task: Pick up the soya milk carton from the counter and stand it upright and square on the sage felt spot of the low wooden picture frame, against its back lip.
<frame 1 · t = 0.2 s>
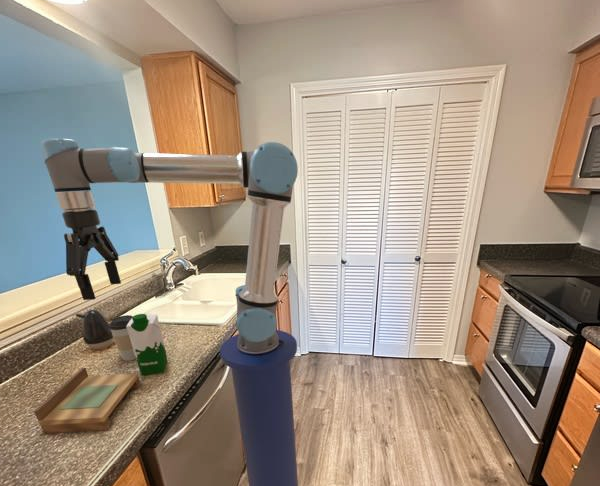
hand: (103, 291, 89), 30 cm above the countertop, tool pointing down, fingers open, 13 cm apart
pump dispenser: (102, 346, 126), on the countertop
coffee cup: (133, 356, 118), on the countertop
soya milk: (155, 369, 109), on the countertop
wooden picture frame: (97, 406, 91), on the countertop
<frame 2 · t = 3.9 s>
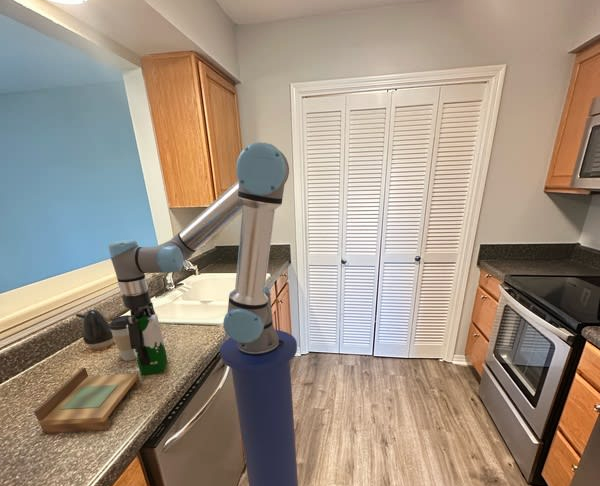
hand: (152, 356, 107), 5 cm above the countertop, tool pointing down, fingers closed on soya milk, 9 cm apart
soya milk: (155, 369, 109), on the countertop, touching gripper
everything else where it was.
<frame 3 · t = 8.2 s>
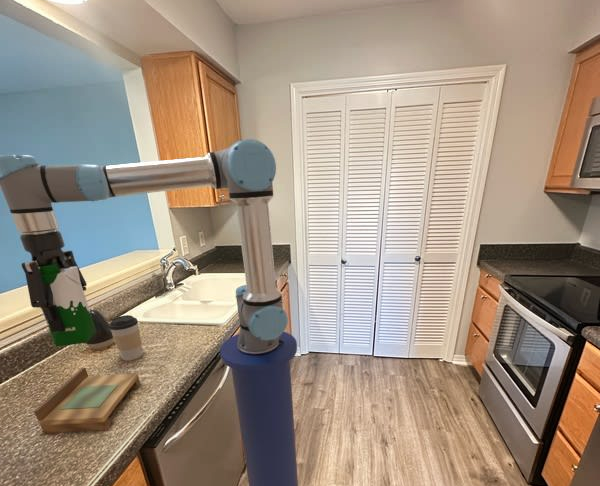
hand: (71, 322, 82), 25 cm above the countertop, tool pointing down, fingers closed on soya milk, 9 cm apart
soya milk: (77, 339, 84), point 21 cm above the countertop, touching gripper
everything else where it was.
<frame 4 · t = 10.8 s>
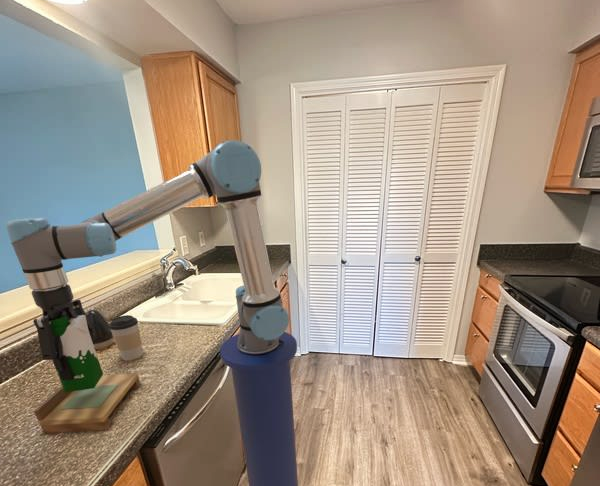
hand: (80, 368, 85), 13 cm above the countertop, tool pointing down, fingers closed on soya milk, 9 cm apart
soya milk: (85, 383, 87), point 8 cm above the countertop, touching gripper
everything else where it was.
when the fingers open (9 cm above the countertop, at t = 12.5 s): soya milk stays where it is, resting on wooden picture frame.
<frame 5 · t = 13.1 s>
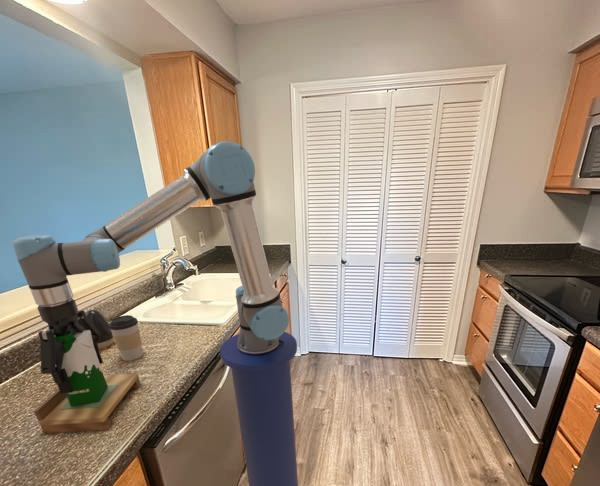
hand: (83, 376, 86), 10 cm above the countertop, tool pointing down, fingers open, 13 cm apart
soya milk: (90, 396, 89), point 4 cm above the countertop, touching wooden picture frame
everything else where it was.
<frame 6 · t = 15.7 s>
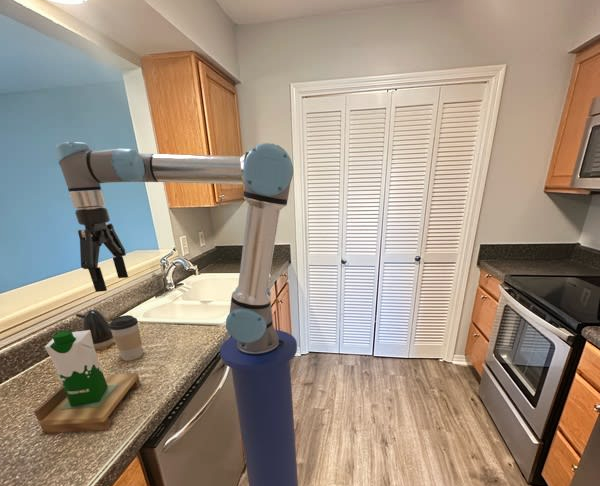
hand: (113, 284, 95), 30 cm above the countertop, tool pointing down, fingers open, 13 cm apart
nothing on the countertop moved.
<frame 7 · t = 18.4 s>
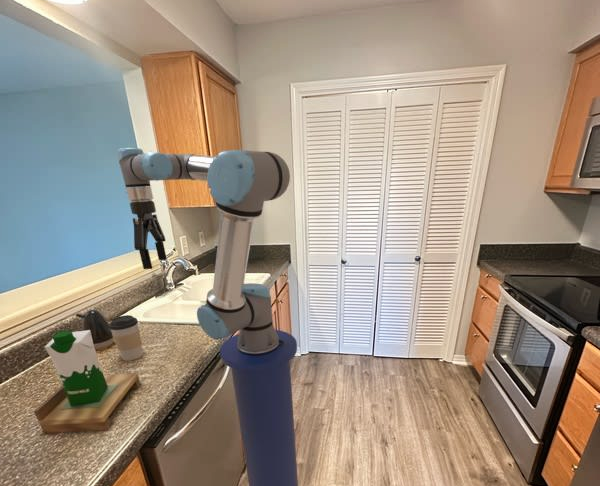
hand: (155, 264, 116), 31 cm above the countertop, tool pointing down, fingers open, 13 cm apart
nothing on the countertop moved.
at the end: soya milk inside the target area on the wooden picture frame (0.1 cm from its centre), point 4.0 cm above the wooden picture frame's base; soya milk tilted 0°; the gripper is holding nothing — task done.
